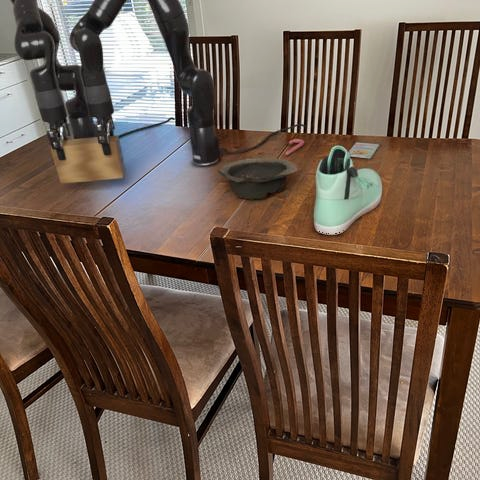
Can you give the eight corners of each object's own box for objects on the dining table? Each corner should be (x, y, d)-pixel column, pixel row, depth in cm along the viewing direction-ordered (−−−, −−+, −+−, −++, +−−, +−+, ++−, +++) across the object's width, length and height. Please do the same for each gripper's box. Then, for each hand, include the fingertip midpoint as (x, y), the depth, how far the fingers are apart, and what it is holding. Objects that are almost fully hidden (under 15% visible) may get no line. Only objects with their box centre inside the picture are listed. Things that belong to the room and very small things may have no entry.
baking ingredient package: (345, 155, 171) (356, 141, 183) (345, 156, 172) (356, 142, 183) (370, 157, 168) (379, 143, 179) (370, 158, 168) (379, 145, 180)
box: (60, 183, 155) (49, 147, 149) (65, 175, 160) (55, 140, 154) (123, 178, 155) (115, 141, 149) (125, 170, 160) (118, 135, 154)
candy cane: (273, 154, 179) (273, 150, 178) (293, 141, 189) (293, 137, 188) (287, 156, 176) (287, 152, 175) (307, 143, 186) (307, 139, 185)
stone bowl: (243, 213, 140) (240, 183, 136) (209, 189, 160) (205, 162, 156) (313, 190, 149) (312, 161, 144) (272, 170, 169) (270, 144, 165)
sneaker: (389, 187, 148) (396, 123, 138) (356, 242, 123) (361, 168, 112) (346, 181, 154) (350, 119, 144) (306, 232, 129) (307, 161, 118)
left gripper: (57, 109, 138) (71, 163, 147) (69, 96, 151) (82, 146, 160) (31, 111, 138) (47, 165, 147) (45, 98, 151) (59, 148, 159)
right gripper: (106, 104, 139) (118, 157, 147) (114, 91, 151) (125, 141, 159) (80, 106, 139) (93, 159, 147) (91, 93, 151) (102, 143, 159)
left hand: (65, 155), depth 153 cm, fingers closed on box, 6 cm apart
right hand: (110, 149), depth 153 cm, fingers open, 8 cm apart
